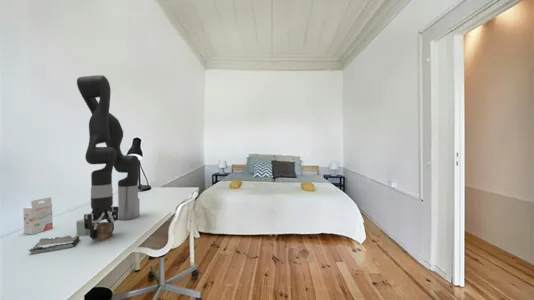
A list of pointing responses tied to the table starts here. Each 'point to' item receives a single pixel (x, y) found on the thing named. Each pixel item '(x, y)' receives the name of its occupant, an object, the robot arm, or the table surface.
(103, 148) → the robot arm
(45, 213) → the ink cartridge box
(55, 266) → the table surface
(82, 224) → the sage block
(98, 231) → the walnut block
